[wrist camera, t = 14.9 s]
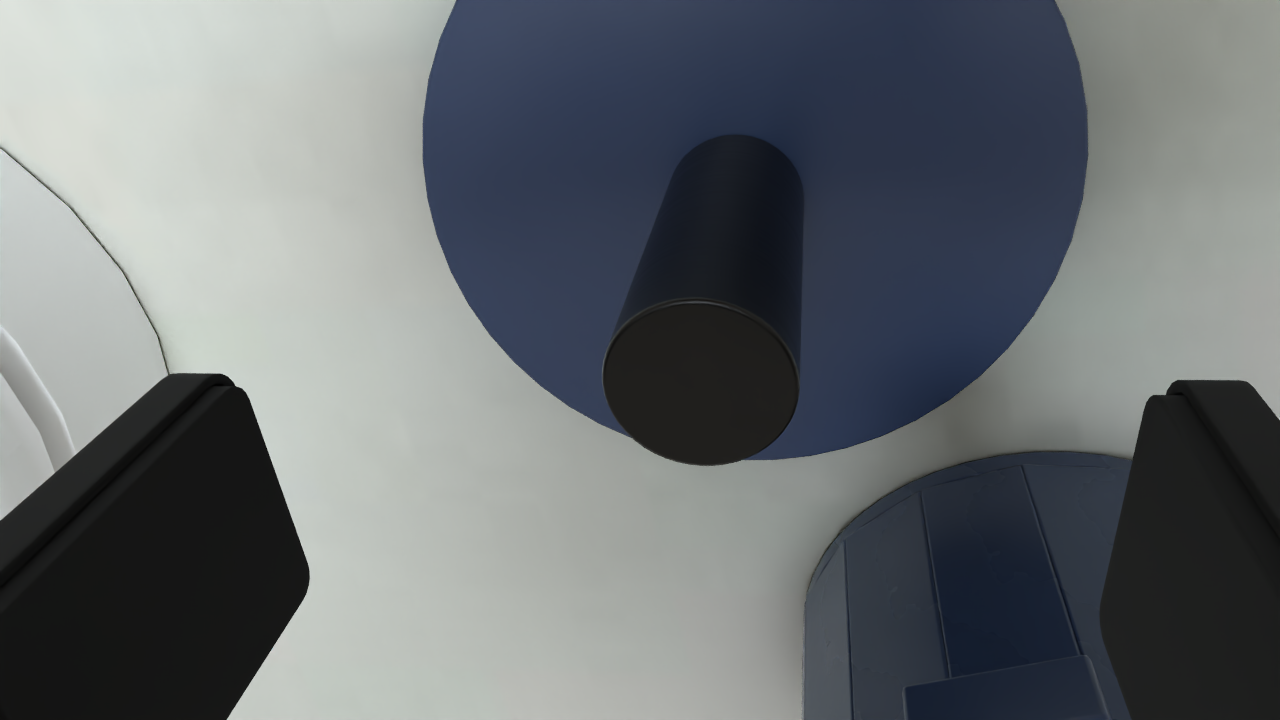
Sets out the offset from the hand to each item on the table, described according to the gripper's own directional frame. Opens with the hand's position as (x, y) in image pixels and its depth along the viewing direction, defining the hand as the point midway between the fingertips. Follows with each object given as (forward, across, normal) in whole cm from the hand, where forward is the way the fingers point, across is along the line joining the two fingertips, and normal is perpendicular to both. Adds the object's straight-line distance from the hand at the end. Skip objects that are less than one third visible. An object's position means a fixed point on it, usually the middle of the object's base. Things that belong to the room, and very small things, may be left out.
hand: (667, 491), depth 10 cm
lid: (+8, 0, 0) cm, 8 cm away
